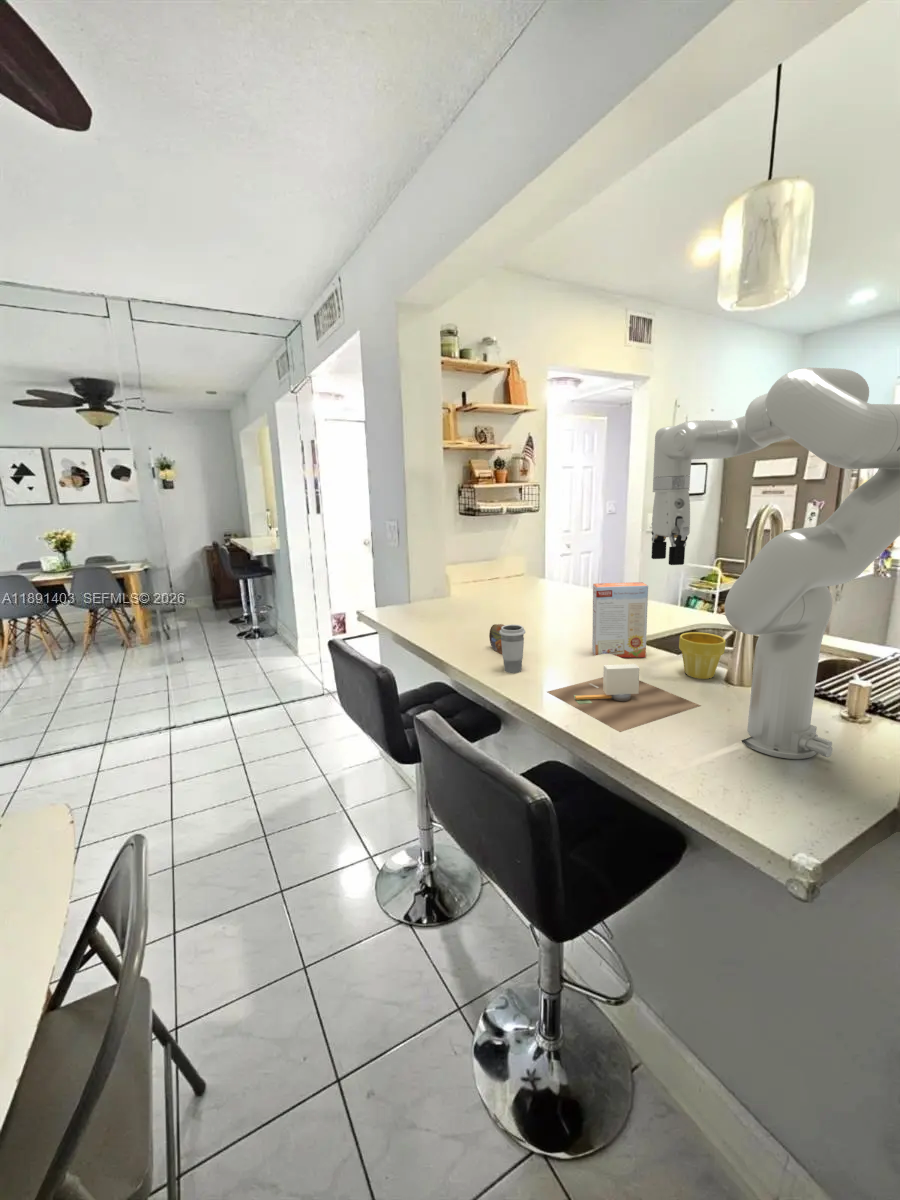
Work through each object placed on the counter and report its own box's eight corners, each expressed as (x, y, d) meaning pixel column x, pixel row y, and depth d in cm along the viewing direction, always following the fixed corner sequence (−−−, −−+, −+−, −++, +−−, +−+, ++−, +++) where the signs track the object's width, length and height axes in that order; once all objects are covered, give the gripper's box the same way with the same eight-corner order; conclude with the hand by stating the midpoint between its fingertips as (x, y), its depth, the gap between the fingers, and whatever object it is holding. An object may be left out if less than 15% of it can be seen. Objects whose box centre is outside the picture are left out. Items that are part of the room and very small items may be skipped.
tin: (488, 647, 156) (488, 621, 154) (497, 646, 157) (497, 620, 155) (514, 661, 142) (514, 633, 140) (524, 659, 144) (523, 631, 142)
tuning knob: (632, 692, 114) (633, 662, 112) (639, 700, 109) (641, 669, 108) (573, 695, 113) (573, 664, 112) (578, 703, 109) (578, 671, 108)
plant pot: (724, 671, 129) (727, 634, 126) (720, 684, 120) (723, 646, 118) (681, 665, 134) (683, 629, 132) (673, 677, 126) (676, 640, 124)
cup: (510, 676, 131) (510, 632, 128) (494, 669, 136) (493, 627, 134) (531, 670, 135) (530, 627, 132) (514, 663, 140) (514, 622, 138)
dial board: (700, 712, 107) (701, 705, 106) (619, 739, 97) (619, 731, 96) (620, 678, 127) (620, 672, 126) (546, 697, 117) (546, 691, 117)
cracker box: (640, 651, 146) (643, 581, 142) (646, 658, 140) (649, 585, 136) (591, 652, 148) (592, 582, 143) (594, 658, 142) (596, 586, 137)
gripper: (707, 484, 103) (701, 566, 106) (671, 484, 119) (667, 556, 123) (670, 485, 103) (666, 568, 106) (639, 486, 120) (637, 557, 123)
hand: (666, 561), depth 115 cm, fingers open, 9 cm apart
